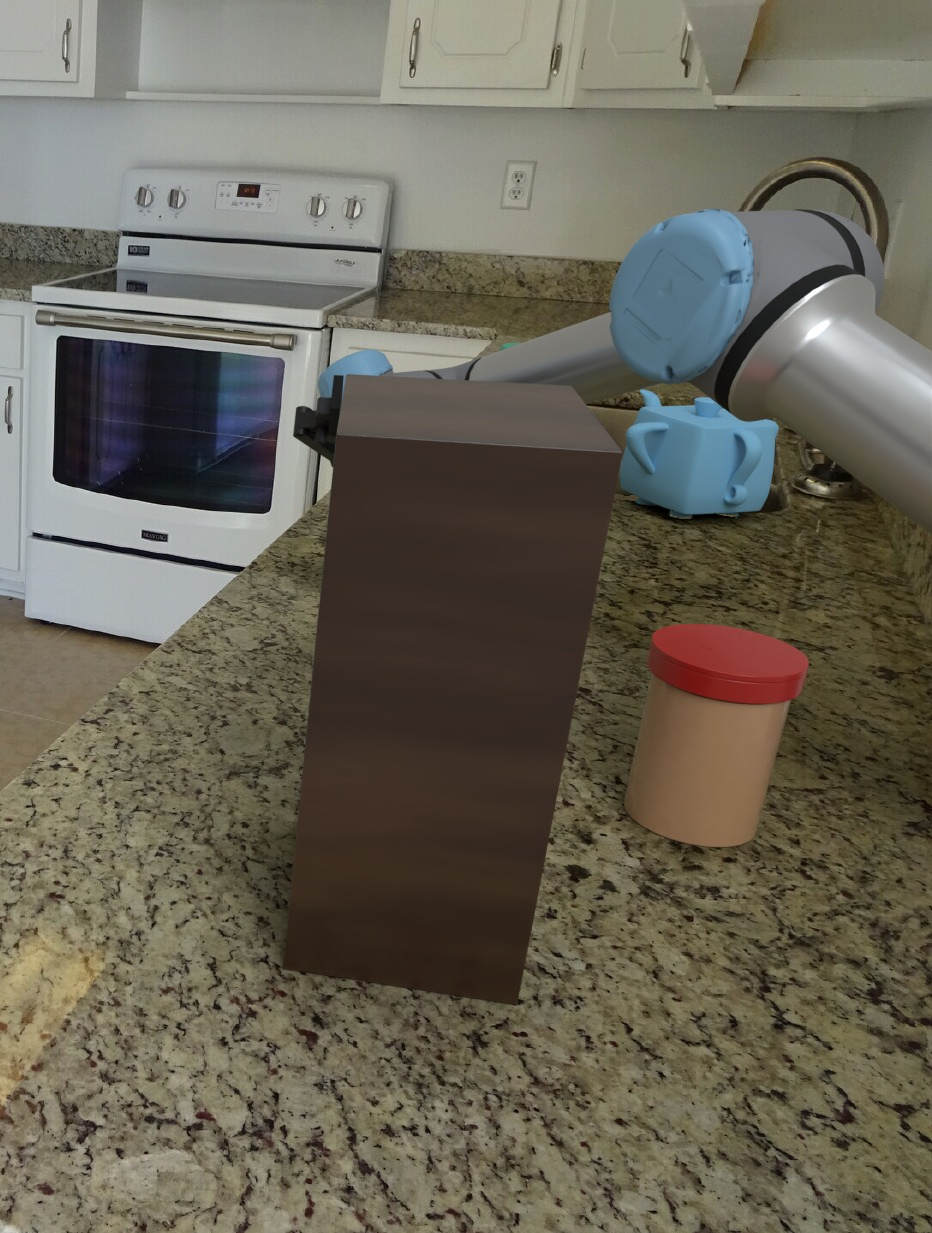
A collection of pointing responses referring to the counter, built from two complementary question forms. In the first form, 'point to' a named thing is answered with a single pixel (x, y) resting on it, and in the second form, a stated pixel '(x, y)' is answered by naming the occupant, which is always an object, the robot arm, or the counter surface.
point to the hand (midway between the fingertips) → (428, 397)
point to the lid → (727, 663)
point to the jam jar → (702, 766)
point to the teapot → (697, 458)
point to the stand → (444, 677)
